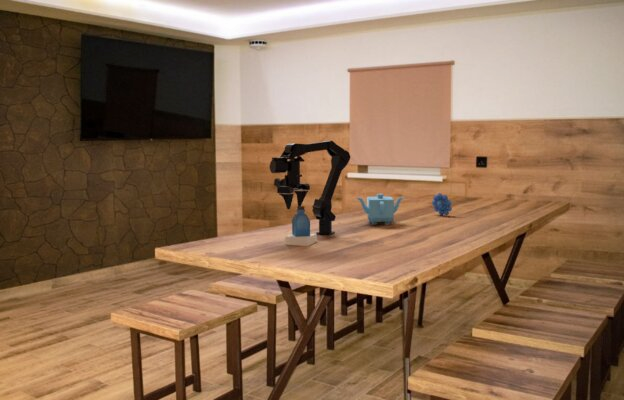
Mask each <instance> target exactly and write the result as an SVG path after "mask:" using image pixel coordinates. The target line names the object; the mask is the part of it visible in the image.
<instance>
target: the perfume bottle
mask: <svg viewBox="0 0 624 400" xmlns="http://www.w3.org/2000/svg"><path fill="white" fill-rule="evenodd" d="M296 208H297V209H296V213H295V214H294V215H293V217H292V220H291V223H292V224H291V226H292V227H291V230H292V231H291V234H293V235H294V236H295V237H301V236H310V233H311V220H310V218H309V217H308V215H307V214H306V213H305V212H306V209H305V206H304V205H301V206H298V205H297V207H296Z"/></svg>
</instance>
